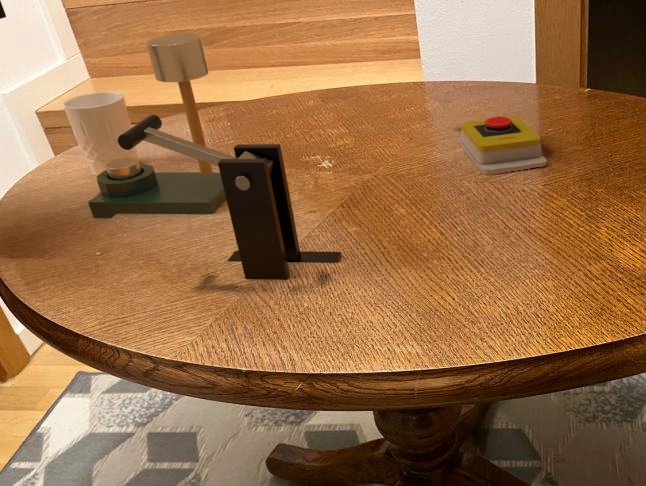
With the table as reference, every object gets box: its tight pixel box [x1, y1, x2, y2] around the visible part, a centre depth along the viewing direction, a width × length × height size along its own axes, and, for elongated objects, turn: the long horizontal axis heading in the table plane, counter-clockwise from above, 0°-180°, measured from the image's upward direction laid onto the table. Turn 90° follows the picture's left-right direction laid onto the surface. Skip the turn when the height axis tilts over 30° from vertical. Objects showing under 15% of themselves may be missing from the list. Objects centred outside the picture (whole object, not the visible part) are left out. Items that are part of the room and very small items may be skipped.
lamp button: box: [106, 158, 142, 180], centre depth 94 cm, size 4×4×2 cm
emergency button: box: [457, 115, 548, 176], centre depth 104 cm, size 9×4×15 cm
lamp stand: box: [145, 33, 213, 175], centre depth 88 cm, size 6×6×16 cm
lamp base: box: [87, 163, 227, 219], centre depth 94 cm, size 16×10×4 cm, turn 84°
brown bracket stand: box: [217, 143, 343, 281], centre depth 73 cm, size 12×9×14 cm
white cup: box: [62, 91, 139, 177], centre depth 104 cm, size 8×8×10 cm
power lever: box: [118, 114, 273, 176], centre depth 69 cm, size 13×6×2 cm, turn 83°
